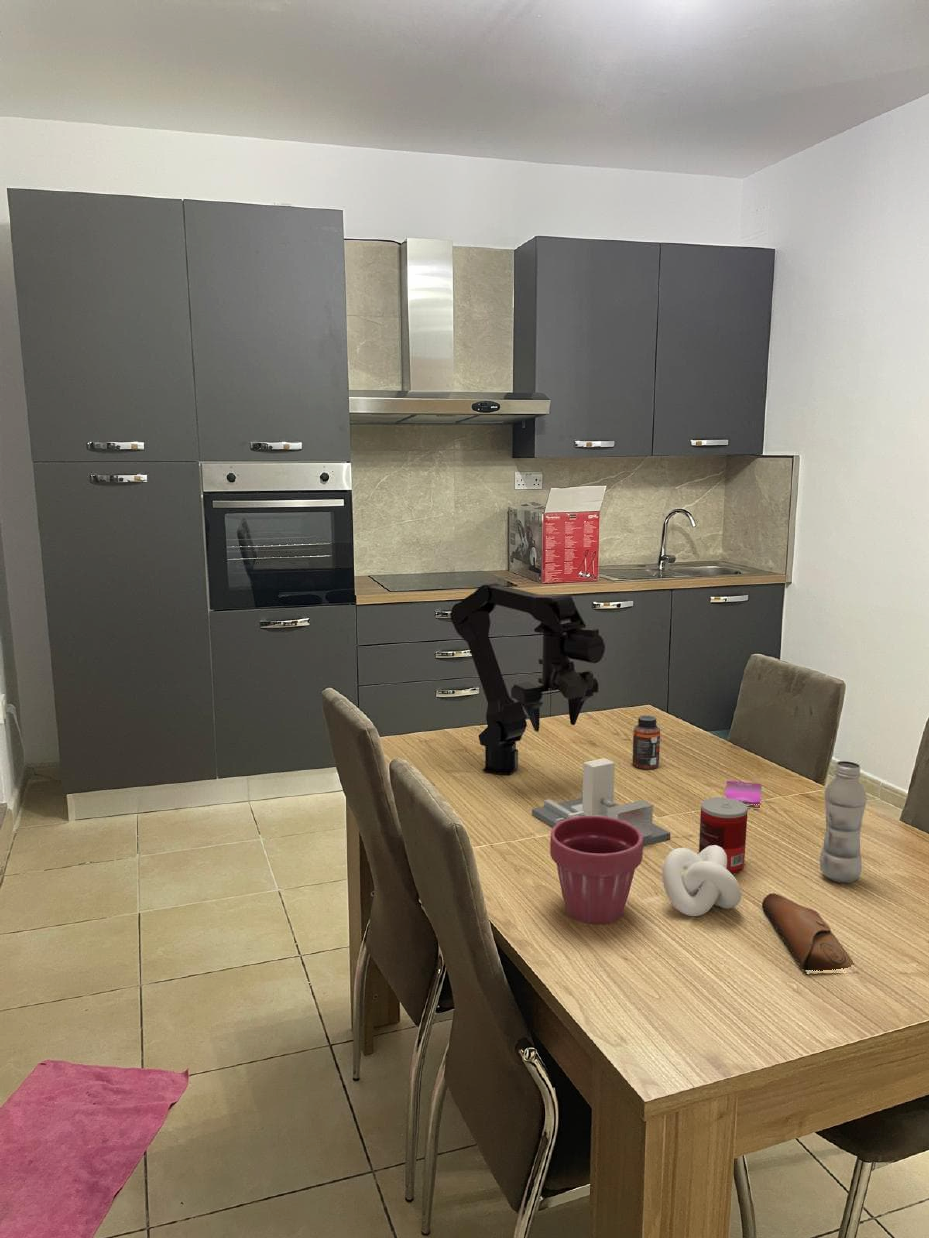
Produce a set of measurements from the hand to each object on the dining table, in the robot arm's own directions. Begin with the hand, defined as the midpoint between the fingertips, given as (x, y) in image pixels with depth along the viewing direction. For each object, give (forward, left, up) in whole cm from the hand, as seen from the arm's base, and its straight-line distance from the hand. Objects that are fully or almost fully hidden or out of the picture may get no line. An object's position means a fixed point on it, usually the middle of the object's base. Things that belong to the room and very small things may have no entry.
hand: (554, 727), depth 193 cm
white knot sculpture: (+36, -42, -13) cm, 57 cm away
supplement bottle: (+16, +20, -13) cm, 29 cm away
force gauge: (+12, -18, -12) cm, 25 cm away
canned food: (+37, -26, -13) cm, 47 cm away
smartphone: (+38, +9, -14) cm, 41 cm away
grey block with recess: (+20, -23, -12) cm, 33 cm away
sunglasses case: (+51, -47, -14) cm, 71 cm away
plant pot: (+20, -49, -13) cm, 55 cm away
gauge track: (+14, -17, -13) cm, 25 cm away
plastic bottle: (+56, -24, -13) cm, 62 cm away
